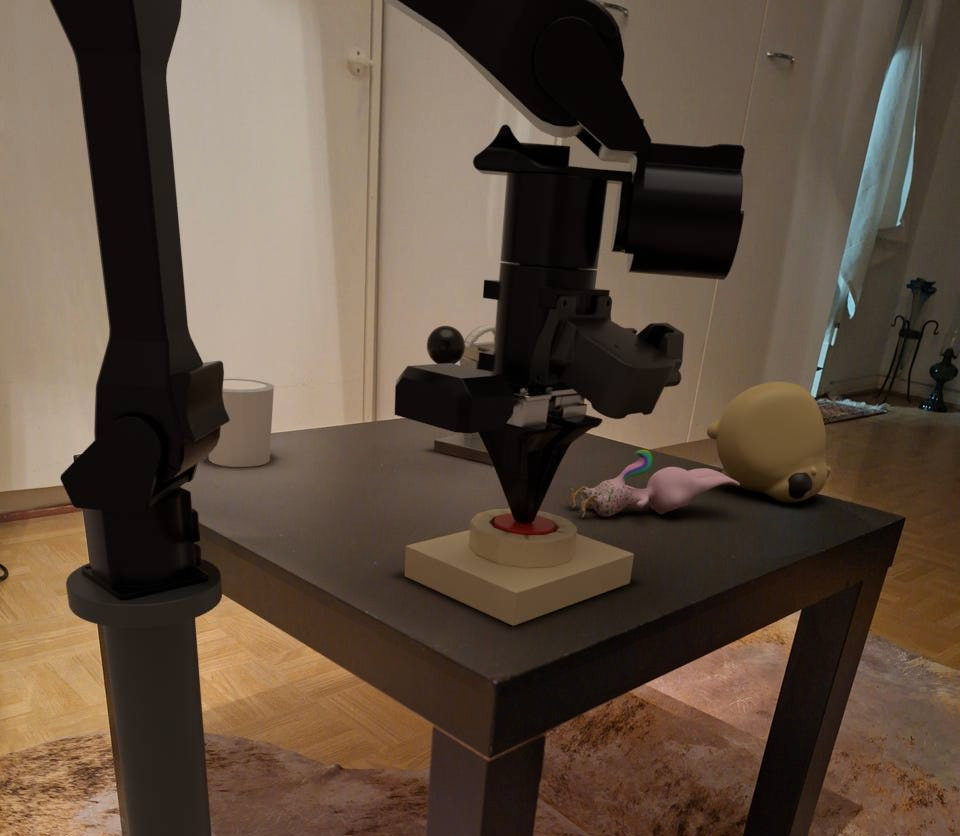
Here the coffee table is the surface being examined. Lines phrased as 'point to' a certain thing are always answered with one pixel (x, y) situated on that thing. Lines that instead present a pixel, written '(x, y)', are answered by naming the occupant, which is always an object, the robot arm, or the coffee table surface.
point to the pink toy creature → (650, 488)
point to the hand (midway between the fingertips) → (523, 521)
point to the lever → (450, 346)
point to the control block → (517, 567)
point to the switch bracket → (467, 442)
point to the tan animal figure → (773, 441)
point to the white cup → (245, 424)
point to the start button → (524, 525)
